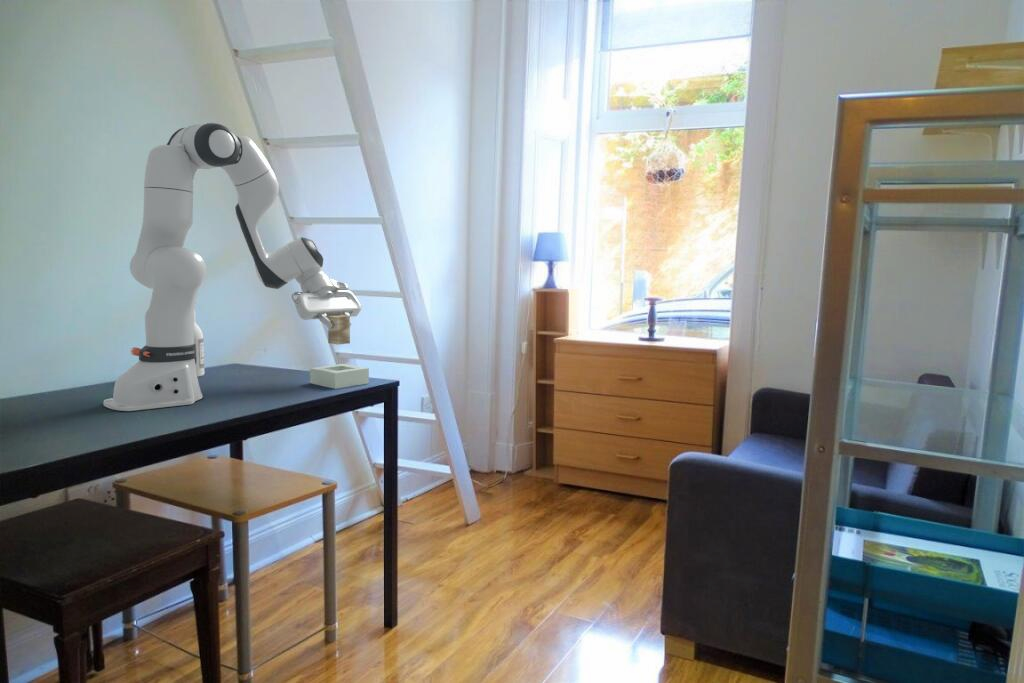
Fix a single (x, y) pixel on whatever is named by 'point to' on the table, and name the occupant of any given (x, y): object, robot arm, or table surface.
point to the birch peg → (339, 330)
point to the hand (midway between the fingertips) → (340, 326)
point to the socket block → (339, 376)
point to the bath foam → (199, 348)
